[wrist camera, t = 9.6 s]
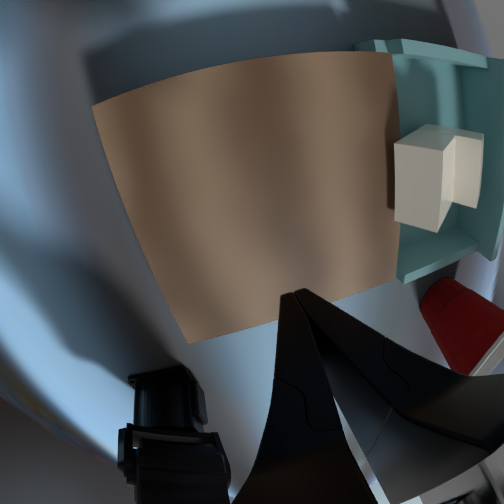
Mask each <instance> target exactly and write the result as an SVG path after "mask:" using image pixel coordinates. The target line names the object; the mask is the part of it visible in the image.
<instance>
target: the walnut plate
mask: <svg viewBox="0 0 504 504" xmlns="http://www.w3.org/2000/svg"><path fill="white" fill-rule="evenodd" d="M92 111H93V114H94V118H95V121H96V125H97V128H98V132H99V135H100V138H101V141H102V144H103V148H104V151H105V154H106V157H107V160H108V163H109V166H110V168H111V171H112V174H113V177H114V180H115V183H116V185H117V188H118V191H119V194H120V196H121V199H122V201H123V204H124V207H125V209H126V212H127V214H128V217H129V219H130V222H131V224H132V227H133V229H134V231H135V234H136V236H137V239H138V241H139V243H140V246H141V248H142V250H143V253H144V255H145V257H146V259H147V262H148V264H149V266H150V268H151V270H152V273H153V275H154V277H155V279H156V281H157V283H158V285H159V287H160V289H161V292H162V294H163V296H164V298H165V300H166V302H167V304H168V306H169V308H170V310H171V312H172V314H173V316H174V318H175V320H176V321H177V323H178V325H179V327H180V329H181V331H182V333H183V335H184V337H185V338H186V340H187V342H188V344H191V343H195V342H199V341H203V340H207V339H211V338H215V337H219V336H222V335H226V334H230V333H234V332H237V331H241V330H244V329H248V328H251V327H255V326H258V325H262V324H265V323H269V322H272V321H275V320H278V319H279V305H280V296H281V295H282V294H285V293H288V292H294V291H295V290H298V289H302V288H307V289H309V290H310V291H312V292H313V293H315V294H317V295H318V296H320V297H322V298H323V299H325V300H327V301H328V302H330V303H331V302H334V301H337V300H340V299H342V298H345V297H348V296H351V295H354V294H356V293H359V292H362V291H365V290H367V289H370V288H373V287H375V286H378V285H381V284H383V283H386V282H388V281H391V280H393V279H395V277H396V268H397V259H398V248H399V236H400V222H397V221H394V217H395V157H394V143H395V142H397V141H399V140H400V139H401V134H400V119H399V107H398V97H397V88H396V80H395V73H394V66H393V60H392V54H391V53H388V52H366V51H333V52H311V53H298V54H287V55H278V56H270V57H263V58H256V59H249V60H243V61H238V62H232V63H227V64H222V65H218V66H213V67H209V68H204V69H200V70H196V71H192V72H188V73H185V74H181V75H177V76H174V77H170V78H167V79H164V80H161V81H157V82H154V83H151V84H148V85H145V86H142V87H139V88H137V89H134V90H131V91H128V92H126V93H123V94H120V95H118V96H115V97H113V98H110V99H108V100H106V101H103V102H101V103H98V104H96V105H94V106H92Z"/></svg>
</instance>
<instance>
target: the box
mask: <svg viewBox="0 0 504 504" xmlns="http://www.w3.org/2000/svg"><path fill="white" fill-rule="evenodd" d="M354 48H355V51H366V52H388V53H391V54H392V60H393V66H394V73H395V80H396V88H397V97H398V107H399V119H400V134H401V139H402V138H404V137H405V136H407V135H409V134H411V133H412V132H414V131H416V130H417V129H418V128H420V127H422V126H423V125H425V124H431V125H438V126H445V127H451V128H457V129H462V130H467V131H472V132H477V133H482V134H484V146H483V165H482V177H481V187H480V195H479V199H478V203H477V207H476V208H472V207H469V206H465V205H462V204H458V203H454V202H452V204H451V206H450V208H449V210H448V212H447V214H446V216H445V218H444V220H443V222H442V224H441V226H440V228H439V230H438V232H437V233H436V232H432V231H429V230H426V229H422V228H419V227H415V226H411V225H408V224H404V223H401V222H400V236H399V248H398V259H397V268H396V277H397V278H398V279H399V280H400V281H401V282H402V283H403V284H406V283H409V282H411V281H413V280H416V279H418V278H420V277H423V276H425V275H427V274H429V273H432V272H434V271H436V270H438V269H441V268H443V267H445V266H447V265H449V264H451V263H453V262H456V261H458V260H460V259H462V258H464V257H466V256H468V255H470V254H472V253H474V252H476V251H478V252H479V253H481V254H482V255H483V256H484V257H486V258H487V259H488V260H489V261H492V260H494V259H496V256H497V253H498V249H499V245H500V241H501V237H502V233H503V229H504V60H503V59H497V58H488V57H485V56H482V55H478V54H475V53H471V52H467V51H464V50H460V49H456V48H451V47H447V46H442V45H438V44H432V43H427V42H421V41H415V40H408V39H394V40H387V41H386V40H369V41H364V42H359V43H354Z"/></svg>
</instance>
